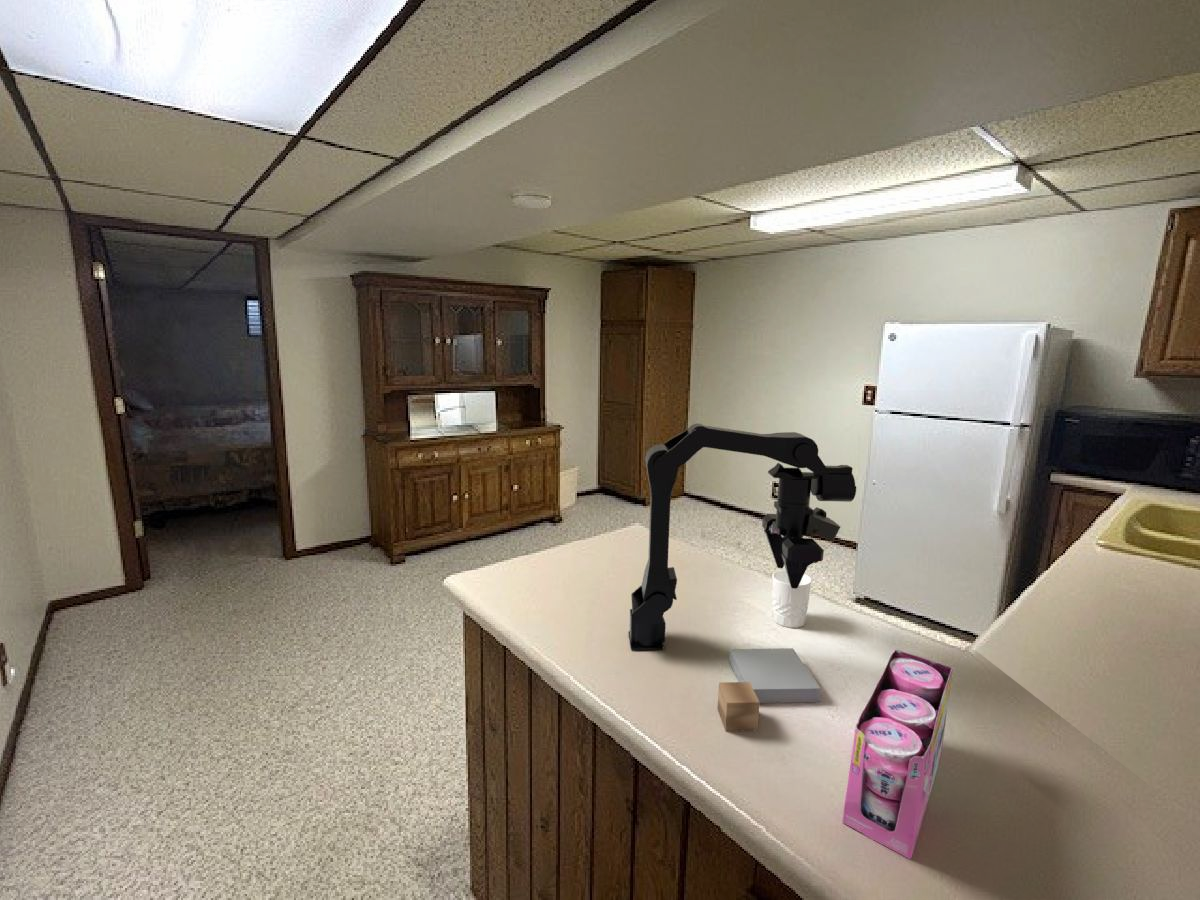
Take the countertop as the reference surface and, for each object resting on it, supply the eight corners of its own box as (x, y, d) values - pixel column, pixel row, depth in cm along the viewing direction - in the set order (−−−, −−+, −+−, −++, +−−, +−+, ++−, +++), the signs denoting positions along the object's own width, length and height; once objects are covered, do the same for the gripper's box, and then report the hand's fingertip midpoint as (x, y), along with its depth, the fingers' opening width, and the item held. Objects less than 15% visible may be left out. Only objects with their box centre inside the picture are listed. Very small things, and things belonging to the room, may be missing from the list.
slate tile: (748, 702, 88) (749, 689, 88) (729, 661, 100) (729, 648, 99) (819, 701, 88) (820, 688, 88) (792, 660, 100) (793, 648, 100)
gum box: (910, 871, 60) (925, 767, 57) (837, 831, 65) (847, 733, 62) (942, 750, 78) (954, 667, 75) (883, 726, 83) (892, 647, 80)
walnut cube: (725, 731, 82) (727, 702, 81) (717, 710, 86) (718, 682, 86) (757, 731, 82) (759, 702, 81) (747, 709, 87) (749, 682, 86)
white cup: (810, 631, 110) (814, 586, 109) (771, 627, 112) (774, 583, 110) (804, 613, 118) (807, 571, 116) (767, 609, 120) (770, 568, 118)
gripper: (858, 516, 90) (848, 601, 93) (819, 488, 109) (812, 560, 112) (791, 514, 91) (784, 599, 94) (764, 487, 109) (759, 558, 112)
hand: (786, 577), depth 103 cm, fingers open, 9 cm apart
